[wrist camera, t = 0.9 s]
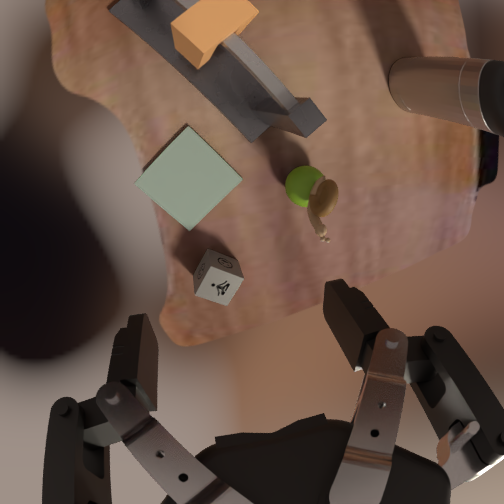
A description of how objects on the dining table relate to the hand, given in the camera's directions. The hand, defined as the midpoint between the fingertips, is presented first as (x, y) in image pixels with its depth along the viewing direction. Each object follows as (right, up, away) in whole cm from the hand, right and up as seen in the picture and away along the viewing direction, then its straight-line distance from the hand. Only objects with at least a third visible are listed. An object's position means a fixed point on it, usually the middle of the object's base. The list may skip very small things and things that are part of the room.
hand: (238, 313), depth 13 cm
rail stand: (-5, +27, +16) cm, 32 cm away
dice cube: (-5, 0, +32) cm, 32 cm away
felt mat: (-8, +12, +24) cm, 28 cm away
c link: (-4, +25, +12) cm, 28 cm away
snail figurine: (+7, +12, +28) cm, 31 cm away
